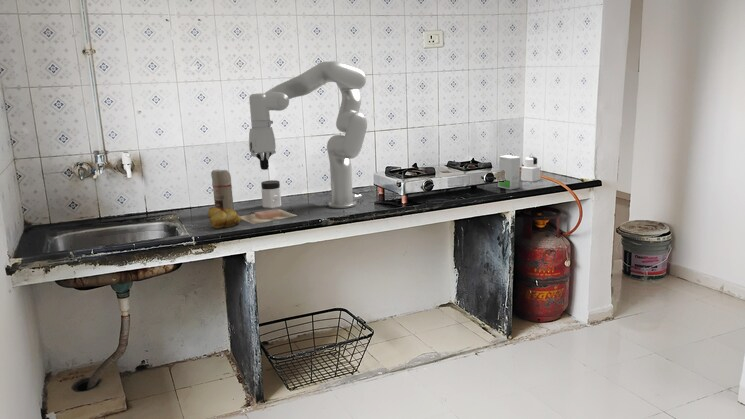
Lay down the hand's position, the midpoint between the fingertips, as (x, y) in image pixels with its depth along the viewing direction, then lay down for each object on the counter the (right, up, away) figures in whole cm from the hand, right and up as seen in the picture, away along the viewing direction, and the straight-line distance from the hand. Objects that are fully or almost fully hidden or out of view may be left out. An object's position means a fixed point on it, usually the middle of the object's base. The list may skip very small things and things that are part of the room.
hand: (264, 169), depth 254 cm
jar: (-1, -16, +24) cm, 29 cm away
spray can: (-20, -19, +16) cm, 32 cm away
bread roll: (-15, -23, -4) cm, 28 cm away
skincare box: (+112, -6, +50) cm, 122 cm away
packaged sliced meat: (0, -21, +5) cm, 21 cm away
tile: (+4, -18, +7) cm, 20 cm away
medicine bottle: (+126, -2, +66) cm, 143 cm away
